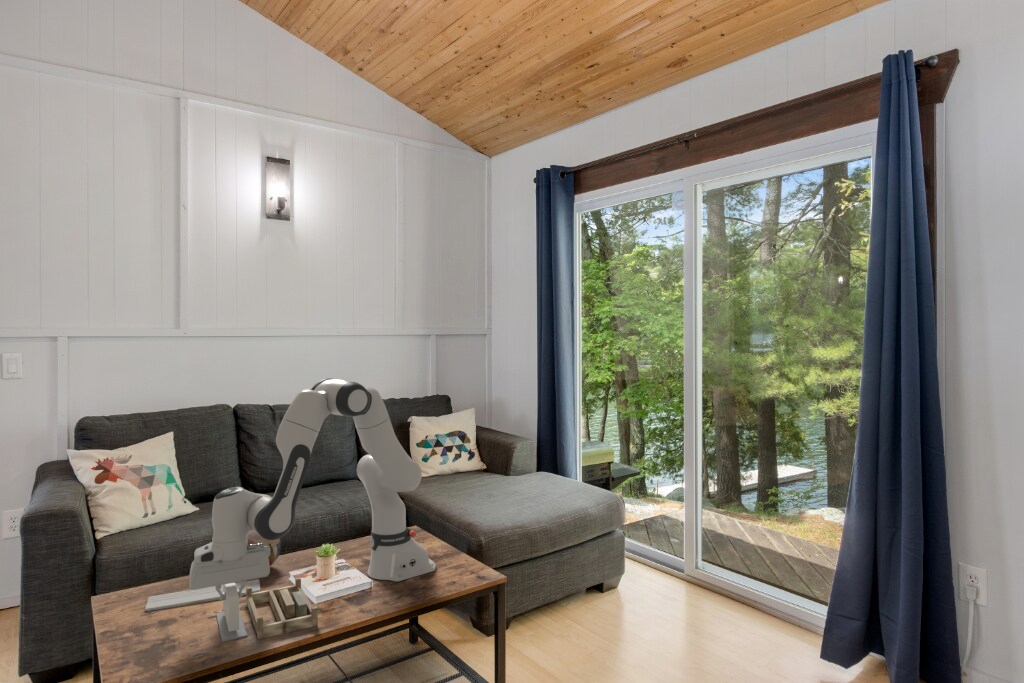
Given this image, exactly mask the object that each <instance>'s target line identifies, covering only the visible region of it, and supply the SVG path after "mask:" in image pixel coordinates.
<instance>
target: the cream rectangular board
mask: <svg viewBox="0 0 1024 683" xmlns="http://www.w3.org/2000/svg"><path fill="white" fill-rule="evenodd" d="M235 583H236V582H235ZM235 583H229V584H224V585H223V592H226V600H222V601H223V604H222V605H223V612H224V613H225V617H226V621H227V626H228V630H229V632H230V631H235V630H239V610H240V597H239V595H238V591H237V588H236V585H235Z"/></svg>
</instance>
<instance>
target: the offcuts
mask: <svg viewBox="0 0 1024 683" xmlns="http://www.w3.org/2000/svg"><path fill="white" fill-rule="evenodd" d="M278 600H279V601H278V603H279V605H280V606H281V610H282V611H283V613H284V616H285V619H286V618H287V619H288V618H289V619H290V618H293V617H296V618H298V617H303V616H307V603H306V601H305V599H304V597H303V596H302V594H301V592H300V591H297V592H292V597H291V596H290V594H289V592H288V590H287V589H283V590H279V599H278Z"/></svg>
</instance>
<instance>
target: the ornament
mask: <svg viewBox="0 0 1024 683" xmlns="http://www.w3.org/2000/svg"><path fill="white" fill-rule="evenodd" d="M260 543H265V544H267V545H269V546H270V556H269V557H268V559H269V565H270V567H271V566H273V565H274V564H275V563H276V561H277V559H278V558H279V556H280V554H281V550H282V541H281V538H279V539H276V540H267V539H265V538H263V537H262V536H261V535H260V534H259V533H258V532H257V531H255V530H251V531H249V532H248V533H247V544H248V545H253V544H260ZM247 550H248V549H247Z"/></svg>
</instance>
